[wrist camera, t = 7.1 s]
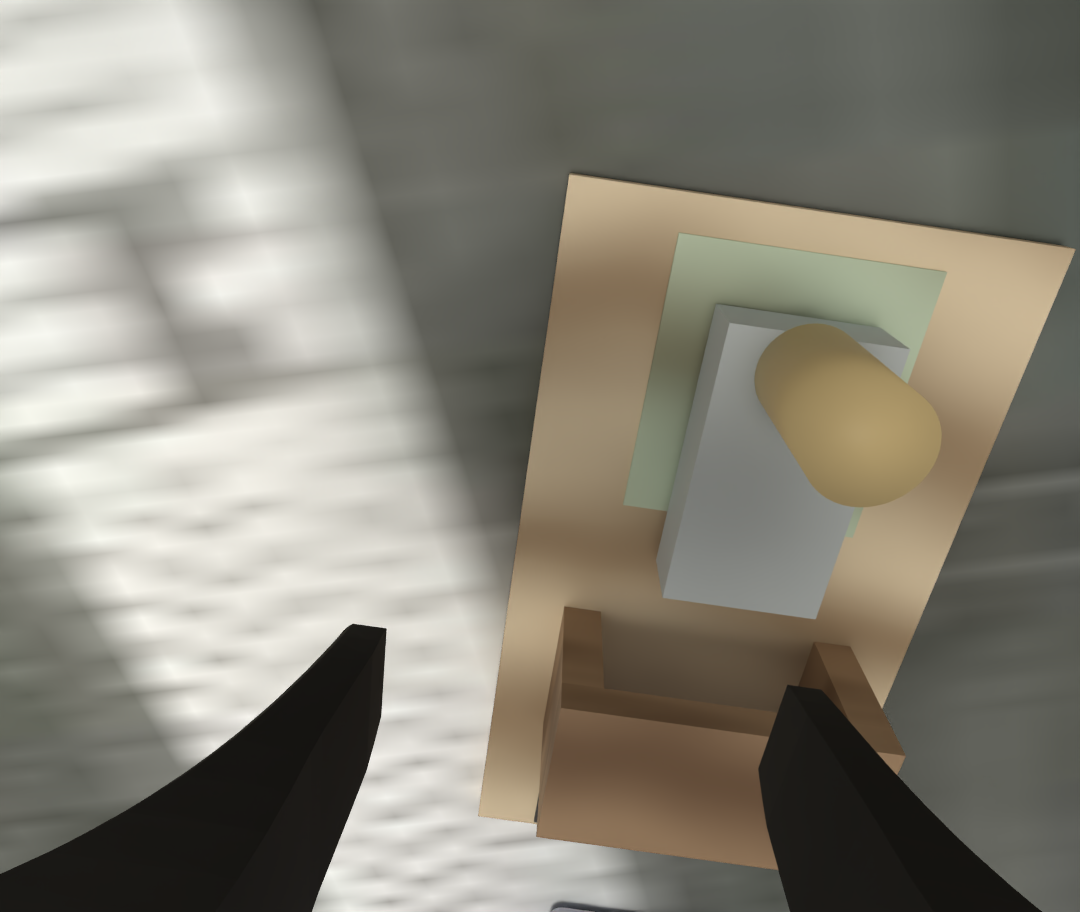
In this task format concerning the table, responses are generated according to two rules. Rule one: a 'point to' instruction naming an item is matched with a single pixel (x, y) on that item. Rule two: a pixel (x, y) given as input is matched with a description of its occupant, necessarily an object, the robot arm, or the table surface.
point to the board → (661, 421)
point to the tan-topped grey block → (787, 457)
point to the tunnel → (672, 756)
